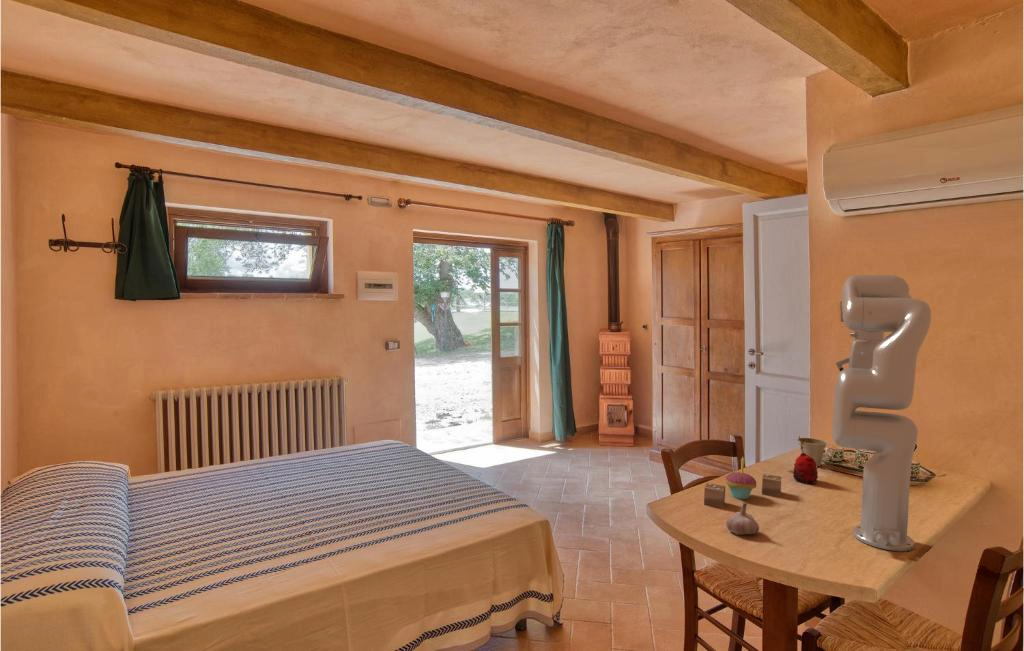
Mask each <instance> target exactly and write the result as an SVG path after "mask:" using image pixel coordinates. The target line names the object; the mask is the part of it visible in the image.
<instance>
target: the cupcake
mask: <svg viewBox="0 0 1024 651" xmlns="http://www.w3.org/2000/svg"><path fill="white" fill-rule="evenodd" d="M744 466H745V458H744V457H742V458H741V465H740V471H738V472H737V471H734V472H731V473H730V474H728V475H726V476H725V484H726V485H727V486H728V488H729V491H730V495H731V496H732V497H733V498H735V499H739V500H747V499H749V497H750V494H751V492H752V490H753V489H755V488H757V481H756V478H754V476H752V475H751V474H748V473H745V472H744Z"/></svg>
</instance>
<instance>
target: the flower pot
mask: <svg viewBox="0 0 1024 651" xmlns="http://www.w3.org/2000/svg"><path fill="white" fill-rule="evenodd" d="M800 438H801V439H802V438H803V439H802V442H804V445H803V444H802V446H803V453H805V454H806V455H809V456H811V457H812V458H813V459H814V461H815V462H816V466H819V467H821V466H820V465H822V460H823V456H824V451H825V448H826V446H827V445H828V443H827V441H826V440H822V439H818V438H813V437H800ZM800 438H799V437H798V438H796V439H797V440H796V441H797V442H798V445H799V453H800V455H801V453H802V449H801V441H798V440H800ZM800 455H799V456H800Z"/></svg>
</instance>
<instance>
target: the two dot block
mask: <svg viewBox="0 0 1024 651" xmlns="http://www.w3.org/2000/svg"><path fill="white" fill-rule="evenodd" d="M781 494H782V476H780V475H773V474H768V473H763V474H762V482H761V495H764V496H768V497H769V496H770V497H777V498H781Z"/></svg>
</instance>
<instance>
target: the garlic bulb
mask: <svg viewBox="0 0 1024 651" xmlns="http://www.w3.org/2000/svg"><path fill="white" fill-rule="evenodd" d="M747 505H748V503H747V502H745V501H744V502H743V503H742V507H741V509H740V511H737V512H735V513H734V514H732V515H731V516H729V517H728V518H727V520H726V522H725V525H726V528H727V530H728V531H729V532H731V533H732V534H733V533H734V534H735V535H738V536H744V535H755V534H757V533H758V532H759V530H760V526H759V523H758V521H756V520H755V517H753V516H752V514H750V513H747V512H746V511H747V510H746V509H747Z"/></svg>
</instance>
